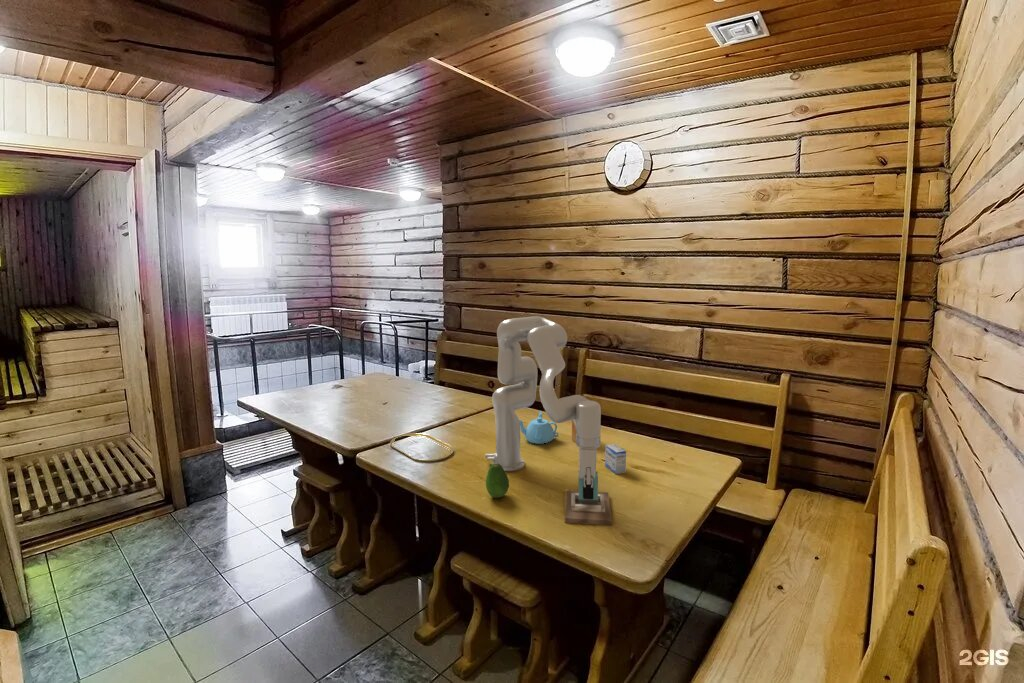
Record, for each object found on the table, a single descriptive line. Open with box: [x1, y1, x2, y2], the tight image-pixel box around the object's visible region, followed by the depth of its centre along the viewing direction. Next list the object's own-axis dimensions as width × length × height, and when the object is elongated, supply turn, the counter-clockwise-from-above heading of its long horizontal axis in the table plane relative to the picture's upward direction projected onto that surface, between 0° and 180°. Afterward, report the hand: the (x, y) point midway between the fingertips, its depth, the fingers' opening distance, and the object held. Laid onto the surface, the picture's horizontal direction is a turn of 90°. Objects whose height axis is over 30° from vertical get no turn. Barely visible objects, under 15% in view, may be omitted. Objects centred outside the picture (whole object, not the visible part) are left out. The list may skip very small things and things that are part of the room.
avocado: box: [485, 463, 510, 499], centre depth 163 cm, size 8×8×12 cm
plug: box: [578, 470, 599, 504], centre depth 153 cm, size 6×4×9 cm, turn 82°
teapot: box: [519, 411, 559, 445], centre depth 214 cm, size 15×15×10 cm
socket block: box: [564, 490, 613, 526], centre depth 154 cm, size 14×18×3 cm
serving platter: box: [389, 432, 455, 463], centre depth 208 cm, size 19×35×2 cm, turn 41°
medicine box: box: [604, 443, 627, 475], centre depth 183 cm, size 8×4×9 cm, turn 21°
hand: (588, 494), depth 154 cm, fingers closed on plug, 4 cm apart
